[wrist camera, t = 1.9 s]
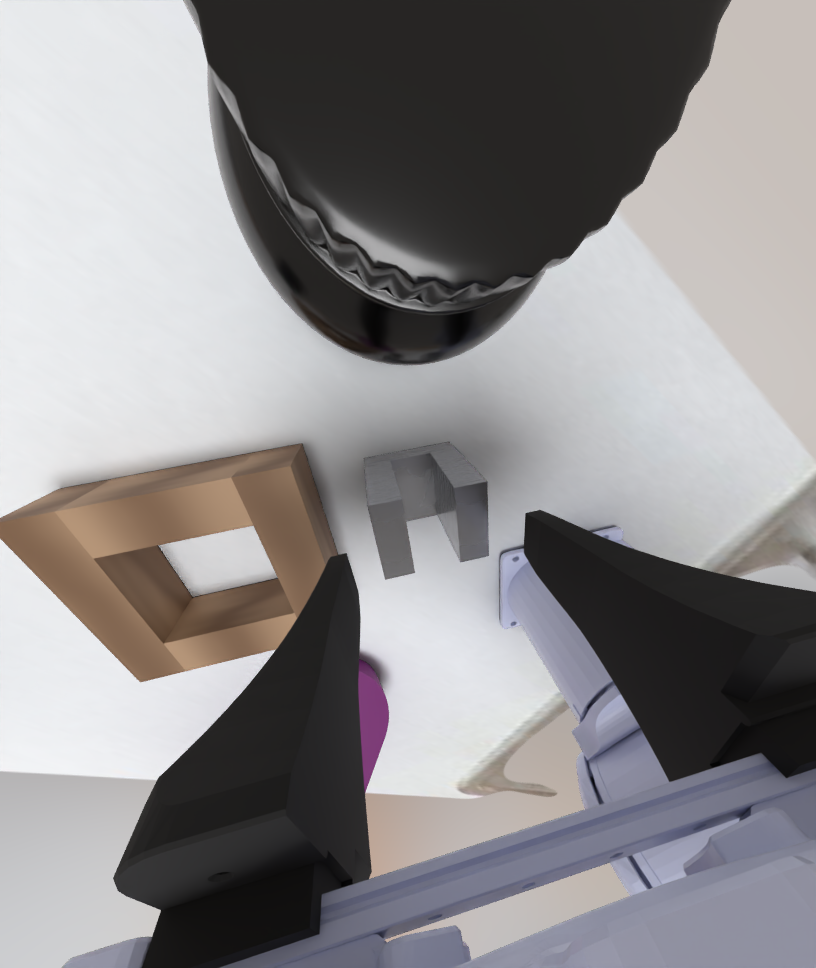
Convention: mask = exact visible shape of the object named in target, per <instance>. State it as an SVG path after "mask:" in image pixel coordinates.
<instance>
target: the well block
mask: <svg viewBox="0 0 816 968" xmlns="http://www.w3.org/2000/svg"><path fill="white" fill-rule="evenodd" d="M253 525H254V528H255V530H256V532H257V534H258V536H259V538H260V540H261V543H262V545H263V547H264V549H265V551H266V553H267V555H268V558H269V560H270V562H271V564H272V566H273V568H274V570H275V572H276V575H277V577H278V579H274V580H269V581H265V582H260V583H256V584H251V585H247V586H242V587H238V588H233V589H229V590H225V591H220V592H216V593H211V594H207V595H202V596H198V597H193V598H192V596H191V595H190V593H189V592H188V590H187V589H186V587H185V586H184V584H183V583H182V581H181V580H180V578H179V577H178V576H177V574H176V573H175V571H174V570H173V568H172V567H171V565H170V564H169V562H168V561H167V559H166V558H165V556H164V555H163V553H162V552H161V550H160V549H159V547H158V546H157V545H161V544H166V543H171V542H176V541H181V540H185V539H190V538H195V537H200V536H205V535H210V534H214V533H219V532H224V531H229V530H234V529H238V528H243V527H248V526H253ZM0 539H1V540H2V541H3V542H4V543H5V544H6V545H7V546H8V547H9V548H10V549H11V550H12V551H13V552H14V553H15V554H16V555H17V556H18V557H19V558H20V559H21V560H22V561H23V562H24V563H25V564H26V565H27V566H28V567H29V568H30V569H31V570H32V571H33V573H34V574H35V575H36V576H37V577H38V578H39V579H40V580H41V581H42V582H43V583H44V584H45V585H46V586H47V587H48V588H49V589H50V590H51V591H52V592H53V593H54V594H55V595H56V596H57V597H58V598H59V599H60V600H61V601H62V602H63V603H64V604H65V605H66V606H67V607H68V608H69V609H70V611H71V612H72V613H73V614H74V615H75V616H76V617H77V618H78V619H79V620H80V621H81V622H82V623H83V624H84V625H85V626H86V627H87V628H88V629H89V630H90V631H91V632H92V633H93V634H94V635H95V636H96V637H97V638H98V639H99V640H100V641H101V642H102V643H103V644H104V645H105V646H106V648H107V649H108V650H109V651H110V652H111V653H112V654H113V655H114V656H115V657H116V658H117V659H118V660H119V661H120V662H121V663H122V664H123V665H124V666H125V667H126V668H127V669H128V670H129V671H130V672H131V673H132V674H133V675H134V676H135V677H136V678H137V679H138V680H139V681H140V682H143V681H148V680H152V679H156V678H160V677H164V676H168V675H172V674H176V673H180V672H184V671H189V670H193V669H197V668H201V667H205V666H209V665H213V664H217V663H221V662H225V661H230V660H234V659H238V658H242V657H246V656H250V655H254V654H258V653H262V652H266V651H271V650H275V649H277V648H278V646H279V645H280V644H281V642H282V641H283V639H284V638H285V636H286V635H287V633H288V632H289V630H290V629H291V627H292V626H293V624H294V622H295V621H296V619H297V618H298V616H299V614H300V613H301V611H302V609H303V608H304V606H305V604H306V603H307V601H308V599H309V597H310V595H311V593H312V592H313V590H314V588H315V586H316V584H317V582H318V580H319V578H320V576H321V574H322V572H323V570H324V568H325V566H326V564H327V562H328V560H329V558H330V557H332V556H336V555H338V553H337V550H336V547H335V544H334V541H333V538H332V534H331V531H330V528H329V525H328V522H327V519H326V516H325V513H324V510H323V507H322V504H321V501H320V498H319V494H318V491H317V488H316V485H315V482H314V479H313V476H312V473H311V470H310V467H309V464H308V461H307V457H306V454H305V451H304V448H303V445H302V444H296V445H291V446H286V447H280V448H275V449H270V450H264V451H259V452H254V453H248V454H243V455H238V456H232V457H227V458H222V459H216V460H211V461H206V462H200V463H195V464H190V465H184V466H179V467H174V468H168V469H163V470H158V471H152V472H147V473H142V474H136V475H131V476H126V477H120V478H115V479H110V480H104V481H99V482H93V483H88V484H83V485H77V486H72V487H67V488H61V489H58V490H56V491H54V492H52V493H50V494H48V495H46V496H44V497H42V498H40V499H38V500H36V501H34V502H32V503H30V504H28V505H26V506H24V507H22V508H20V509H18V510H16V511H14V512H12V513H10V514H8V515H5V516H3V517H1V518H0Z"/></svg>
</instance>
